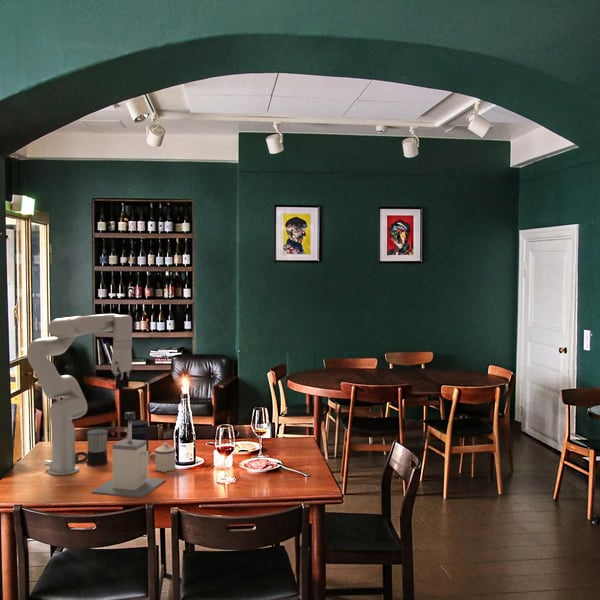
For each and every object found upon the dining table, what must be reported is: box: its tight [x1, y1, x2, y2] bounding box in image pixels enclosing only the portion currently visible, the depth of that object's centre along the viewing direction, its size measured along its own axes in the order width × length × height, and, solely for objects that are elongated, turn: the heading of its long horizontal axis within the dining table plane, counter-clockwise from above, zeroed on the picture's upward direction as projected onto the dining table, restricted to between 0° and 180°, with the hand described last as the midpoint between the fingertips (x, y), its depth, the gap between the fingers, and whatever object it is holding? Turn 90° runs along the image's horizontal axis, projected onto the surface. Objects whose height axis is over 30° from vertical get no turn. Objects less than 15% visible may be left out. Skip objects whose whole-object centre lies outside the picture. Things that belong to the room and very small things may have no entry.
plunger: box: [124, 411, 136, 443], centre depth 267 cm, size 4×4×18 cm
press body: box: [111, 438, 149, 490], centre depth 268 cm, size 13×10×18 cm
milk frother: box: [75, 428, 109, 467], centre depth 301 cm, size 14×16×15 cm
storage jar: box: [132, 419, 149, 452], centre depth 319 cm, size 10×10×15 cm
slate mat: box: [90, 477, 166, 499], centre depth 268 cm, size 22×22×1 cm
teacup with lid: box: [148, 442, 177, 473], centre depth 293 cm, size 12×9×12 cm
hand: (122, 387), depth 275 cm, fingers open, 4 cm apart
